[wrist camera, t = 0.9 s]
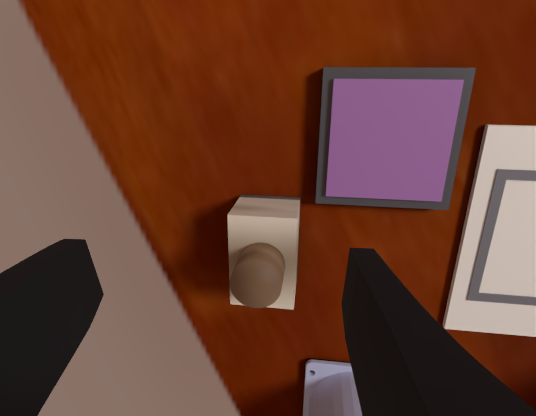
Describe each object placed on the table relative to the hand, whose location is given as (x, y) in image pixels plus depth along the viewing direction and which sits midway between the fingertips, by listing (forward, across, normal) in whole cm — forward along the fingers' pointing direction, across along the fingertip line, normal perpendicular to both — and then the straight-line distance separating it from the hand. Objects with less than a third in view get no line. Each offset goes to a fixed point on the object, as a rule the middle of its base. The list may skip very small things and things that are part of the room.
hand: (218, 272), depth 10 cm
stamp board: (+11, -19, +6) cm, 23 cm away
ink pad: (+13, -8, +1) cm, 15 cm away
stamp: (+13, -1, +8) cm, 15 cm away
